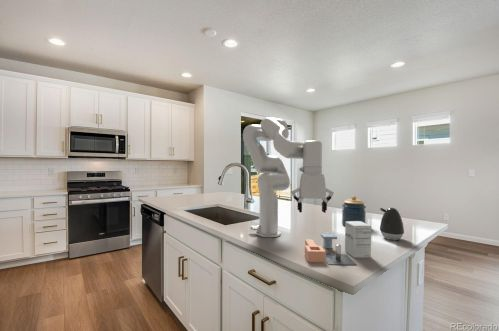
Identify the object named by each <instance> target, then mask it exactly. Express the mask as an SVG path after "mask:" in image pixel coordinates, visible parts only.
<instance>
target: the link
mask: <svg viewBox="0 0 499 331" xmlns="http://www.w3.org/2000/svg"><path fill="white" fill-rule="evenodd" d="M326 254H327V252H326V250H325V248H323V246H322V245H317V244H316V243H315V241H314V240H313V239H310V238H308V239H306V238H305V239H304V257H305V259H306V261H307V262H308V263H326V260H325V259H326Z"/></svg>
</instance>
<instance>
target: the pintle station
mask: <svg viewBox="0 0 499 331" xmlns="http://www.w3.org/2000/svg"><path fill="white" fill-rule="evenodd" d="M334 246H335V247H334V250H335V251H334V253H326V259H325V263H326V264H327V265H328V266H330V265H331V266H357V263H356V262H355V261H354V260H353V259H352V258H351V257H350V256H349V254H348V253H342V246H341V244H338V243H337V244H336V243H335V245H334Z"/></svg>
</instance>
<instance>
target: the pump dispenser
mask: <svg viewBox="0 0 499 331" xmlns="http://www.w3.org/2000/svg"><path fill="white" fill-rule="evenodd" d="M379 210H380V211H381V212H383V215H382V218H381V220H380V225H379V231H380V234H381V236H382V237H383V238H385V239H386V240H389V241H399V240H400V239H402V237H403V235H404V234H405V227H404V221H403V219H402V217H401V214H400V213H399V211H398V209H397V208H394V207H388V208H387V209H385V208H383V207H380V208H379Z"/></svg>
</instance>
